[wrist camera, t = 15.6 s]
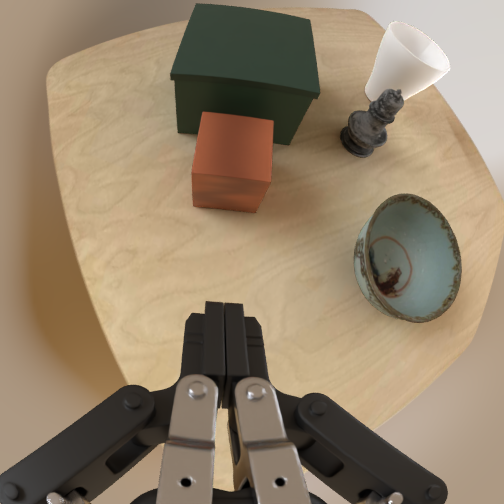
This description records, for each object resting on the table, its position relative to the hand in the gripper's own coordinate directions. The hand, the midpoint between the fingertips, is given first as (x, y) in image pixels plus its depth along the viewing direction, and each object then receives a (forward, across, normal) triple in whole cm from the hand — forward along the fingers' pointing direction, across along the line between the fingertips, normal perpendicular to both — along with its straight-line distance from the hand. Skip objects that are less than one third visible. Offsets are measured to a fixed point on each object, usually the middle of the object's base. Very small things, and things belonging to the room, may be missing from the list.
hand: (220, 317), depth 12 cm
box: (+34, -1, -7) cm, 34 cm away
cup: (+39, -24, -12) cm, 47 cm away
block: (+24, -1, +3) cm, 25 cm away
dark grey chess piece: (+31, -18, -4) cm, 36 cm away
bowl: (+18, -20, +9) cm, 29 cm away
